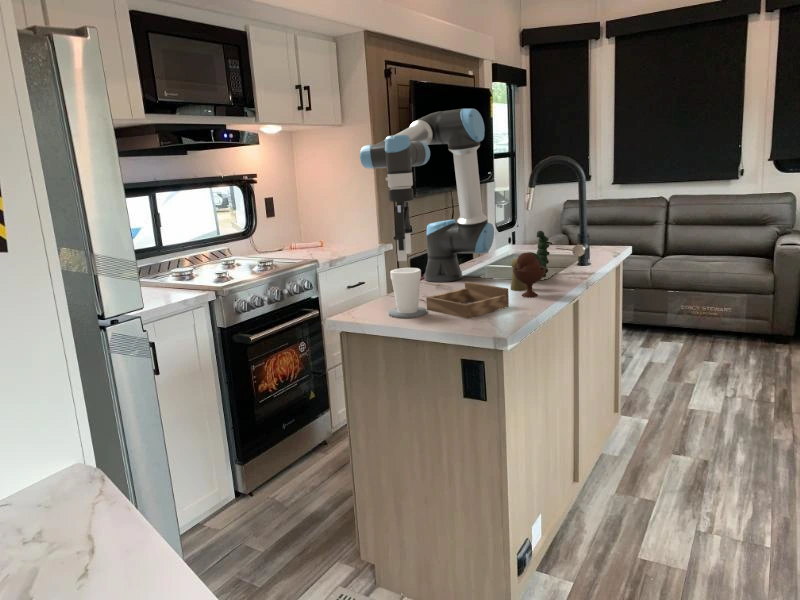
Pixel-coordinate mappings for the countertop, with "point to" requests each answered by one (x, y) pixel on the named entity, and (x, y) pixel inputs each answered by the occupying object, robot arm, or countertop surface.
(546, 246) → the toy figurine
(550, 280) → the countertop surface
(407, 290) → the foam cup
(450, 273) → the robot arm
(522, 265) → the ice cream bowl
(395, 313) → the rubber mat
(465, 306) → the frame
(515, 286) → the cork
